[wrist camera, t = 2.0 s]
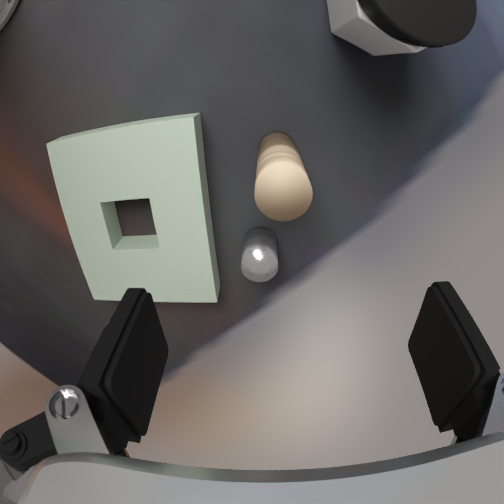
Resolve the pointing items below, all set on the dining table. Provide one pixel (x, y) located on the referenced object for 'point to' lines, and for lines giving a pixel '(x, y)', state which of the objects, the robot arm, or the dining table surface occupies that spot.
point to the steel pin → (259, 254)
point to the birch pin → (281, 179)
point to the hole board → (138, 187)
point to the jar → (401, 23)
